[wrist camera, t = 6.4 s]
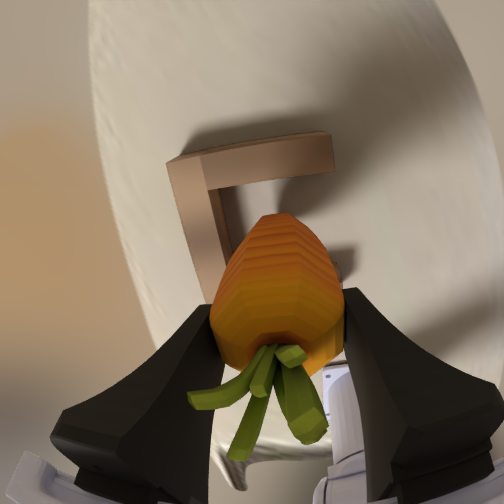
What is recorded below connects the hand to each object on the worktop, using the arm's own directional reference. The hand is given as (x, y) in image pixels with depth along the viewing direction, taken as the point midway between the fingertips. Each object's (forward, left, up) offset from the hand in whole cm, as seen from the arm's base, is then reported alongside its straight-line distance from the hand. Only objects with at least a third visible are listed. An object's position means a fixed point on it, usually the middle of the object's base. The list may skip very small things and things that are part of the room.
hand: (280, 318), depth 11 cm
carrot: (0, 0, -9) cm, 9 cm away
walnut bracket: (0, 0, -10) cm, 10 cm away
